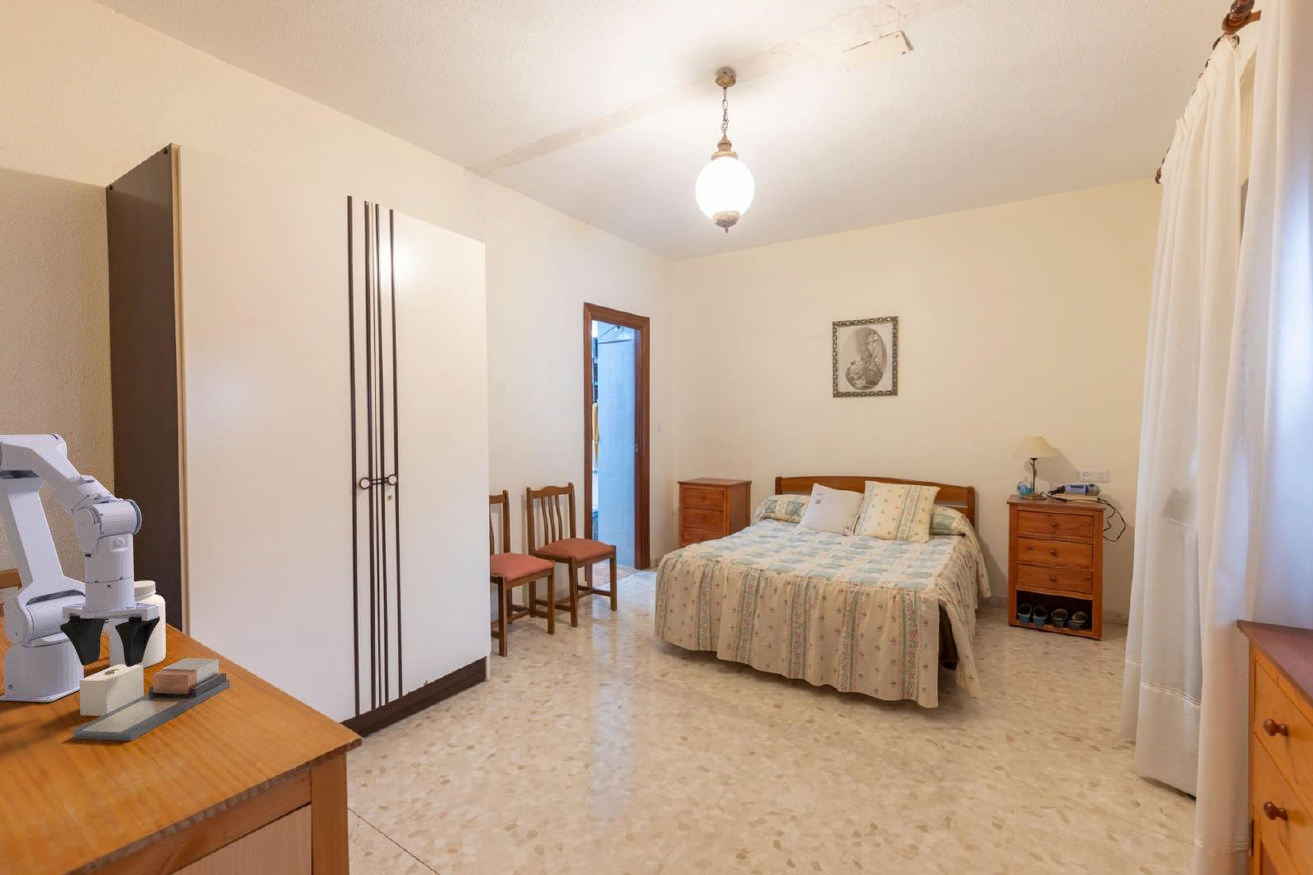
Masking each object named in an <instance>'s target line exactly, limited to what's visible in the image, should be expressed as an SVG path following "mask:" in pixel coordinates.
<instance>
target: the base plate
mask: <svg viewBox="0 0 1313 875" xmlns="http://www.w3.org/2000/svg"><path fill="white" fill-rule="evenodd" d="M230 684H231V680H230V679H227V672H221V673H219V675H217V676H215V677H213V678H211V679H209V680H207V681H205V682H203V683H201V684H200V685H198V686H196V687H194V688H192V689H191V693H189V694H176V693H154V689H153V684H152V685H149V686H148V693H147V694H144V696H142V697H140V698H138V699H136V700H134V701H132V702H130V703H128V704H126V705H124V706H122V707H119V708H117V709H115V710H113V711H111V712H109V713H107V714H105V715H103V716H98V717H97V718H95V719H93V720H91V721H89V722H87V723H85V724H83V725H80V726H78V727H76V728H74V729H72V739H76V740H97V741H100V740H101V741H116V742H117V741H118V742H119V741H120V742H121V741H122V742H132V741H134V740H136V739H138V738H139V737H142V736H143V735H145V734H147V733H148V732H150V731H152V730H154V729H156V728H157V727H159V726H161V725H163V724H165V723H166V722H169V721H170V720H172V719H173V718H174V719H175V718H176V717H178V716H179V715H181V714H183V713H184V711H185V712H186V710H187V711H188V710H190V709H192V708H194V707H196V706H197V705H200V704H201V703H202V701H203V702H204V700H205V701H206V700H209V699H210V698H212V697H214V696H215V695H217V694H219V693H221V692H223V691H225V690H226V689H228V688H230V686H231V685H230ZM220 691H221V692H220ZM195 705H196V706H195ZM178 714H179V715H178ZM177 715H178V716H177ZM175 716H176V717H175Z"/></svg>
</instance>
